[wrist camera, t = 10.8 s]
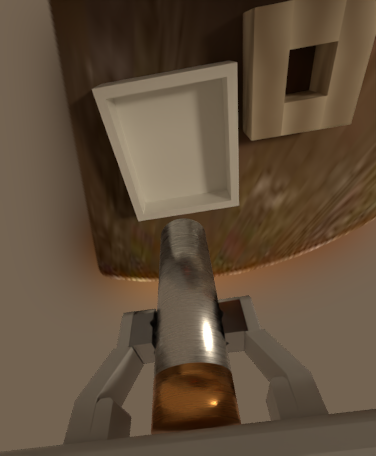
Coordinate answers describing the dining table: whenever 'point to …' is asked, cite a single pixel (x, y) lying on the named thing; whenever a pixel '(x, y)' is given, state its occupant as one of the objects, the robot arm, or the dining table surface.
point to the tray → (175, 138)
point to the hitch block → (321, 71)
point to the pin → (189, 338)
